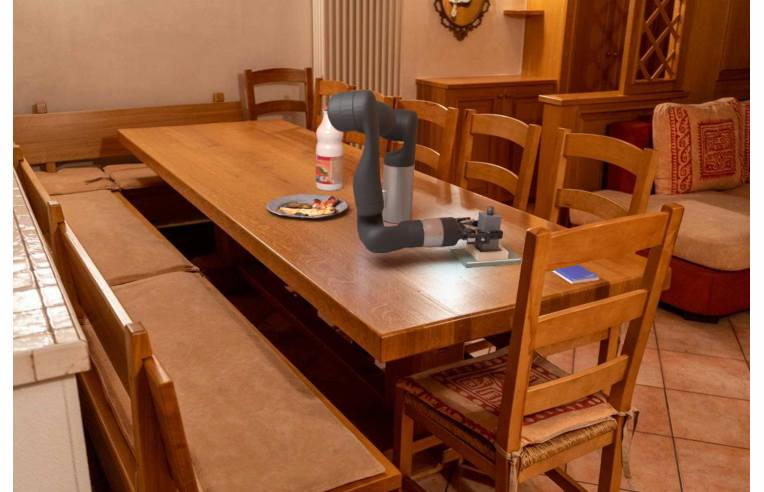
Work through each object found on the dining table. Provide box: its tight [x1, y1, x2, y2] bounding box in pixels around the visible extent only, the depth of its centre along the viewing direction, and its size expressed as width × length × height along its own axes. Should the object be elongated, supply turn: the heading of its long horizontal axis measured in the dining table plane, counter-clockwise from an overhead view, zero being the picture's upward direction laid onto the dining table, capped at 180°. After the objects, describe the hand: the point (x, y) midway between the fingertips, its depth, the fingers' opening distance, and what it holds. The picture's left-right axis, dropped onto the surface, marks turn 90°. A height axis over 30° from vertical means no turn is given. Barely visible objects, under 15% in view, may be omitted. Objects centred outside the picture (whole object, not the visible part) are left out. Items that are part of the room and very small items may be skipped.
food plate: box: [266, 193, 350, 219], centre depth 215 cm, size 25×23×4 cm
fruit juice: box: [315, 105, 344, 192], centre depth 235 cm, size 9×9×28 cm
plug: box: [476, 205, 502, 252], centre depth 180 cm, size 5×4×13 cm
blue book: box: [552, 264, 600, 285], centre depth 175 cm, size 2×8×12 cm
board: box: [449, 242, 523, 269], centre depth 182 cm, size 16×11×3 cm
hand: (495, 228), depth 180 cm, fingers open, 8 cm apart
